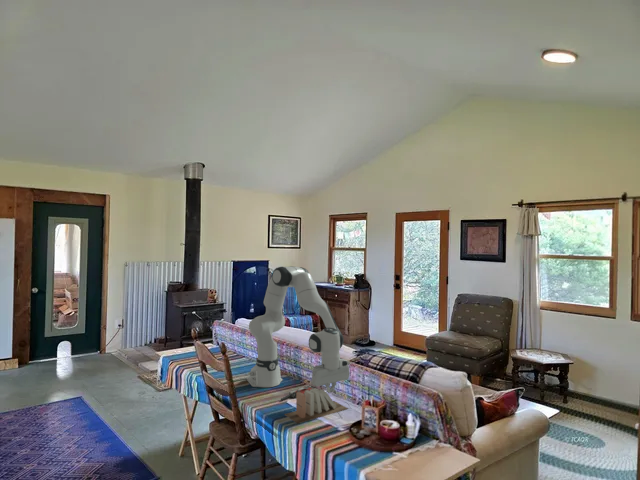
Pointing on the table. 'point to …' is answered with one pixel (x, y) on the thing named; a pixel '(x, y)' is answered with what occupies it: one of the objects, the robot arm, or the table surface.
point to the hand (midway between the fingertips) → (330, 391)
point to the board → (315, 414)
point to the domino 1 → (301, 404)
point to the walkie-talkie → (302, 390)
